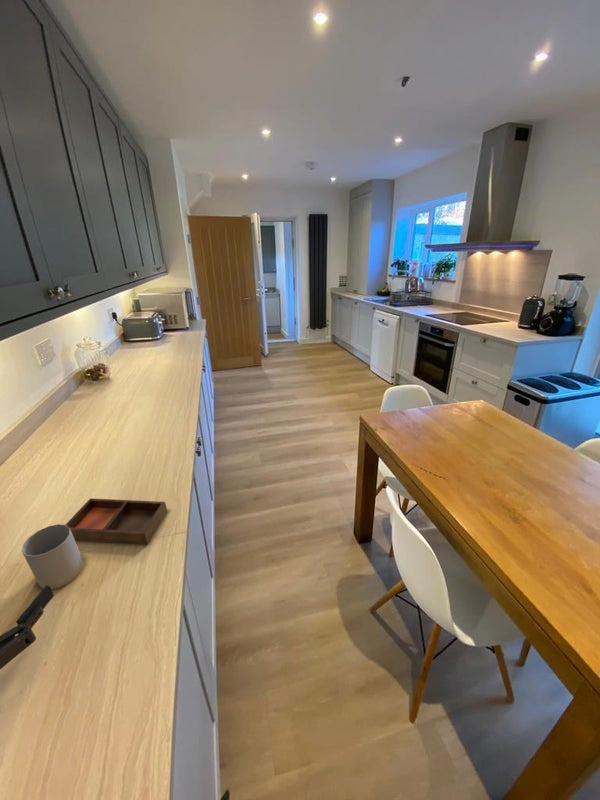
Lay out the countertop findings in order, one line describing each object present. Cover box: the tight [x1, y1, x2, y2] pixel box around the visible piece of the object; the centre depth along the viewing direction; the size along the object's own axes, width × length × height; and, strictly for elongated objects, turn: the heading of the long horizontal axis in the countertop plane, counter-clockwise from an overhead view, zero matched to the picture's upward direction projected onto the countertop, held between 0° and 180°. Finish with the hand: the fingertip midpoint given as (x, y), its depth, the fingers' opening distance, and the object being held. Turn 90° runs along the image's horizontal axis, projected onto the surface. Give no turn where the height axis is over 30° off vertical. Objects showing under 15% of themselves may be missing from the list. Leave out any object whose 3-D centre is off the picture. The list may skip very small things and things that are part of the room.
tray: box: [64, 497, 168, 545], centre depth 84 cm, size 21×11×4 cm, turn 86°
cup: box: [21, 523, 84, 590], centre depth 70 cm, size 8×8×10 cm
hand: (16, 588), depth 62 cm, fingers open, 13 cm apart
